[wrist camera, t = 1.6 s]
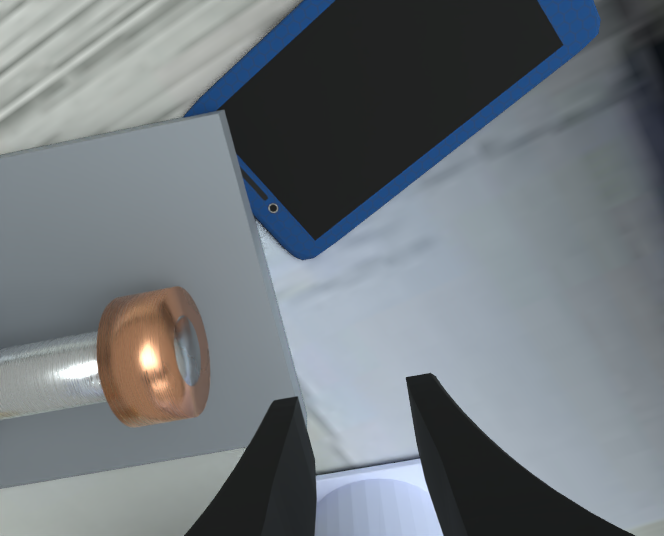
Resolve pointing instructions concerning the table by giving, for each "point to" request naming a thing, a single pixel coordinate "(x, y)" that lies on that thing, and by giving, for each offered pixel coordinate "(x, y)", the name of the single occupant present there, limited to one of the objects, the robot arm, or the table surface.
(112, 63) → the table surface
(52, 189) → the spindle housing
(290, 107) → the cell phone
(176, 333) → the copper and silver rod
